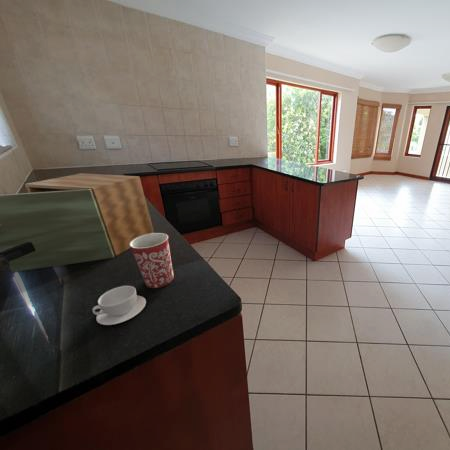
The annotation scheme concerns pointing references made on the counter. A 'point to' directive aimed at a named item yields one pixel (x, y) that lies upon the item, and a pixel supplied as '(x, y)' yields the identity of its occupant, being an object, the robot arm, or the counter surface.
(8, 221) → the door
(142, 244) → the mug
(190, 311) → the counter surface
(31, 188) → the cupboard
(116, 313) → the teacup
